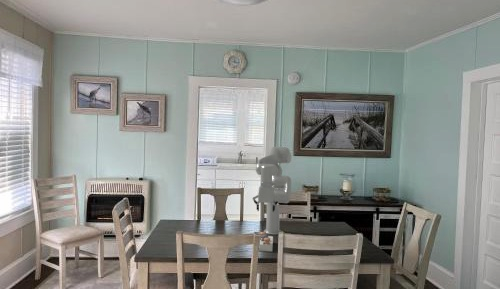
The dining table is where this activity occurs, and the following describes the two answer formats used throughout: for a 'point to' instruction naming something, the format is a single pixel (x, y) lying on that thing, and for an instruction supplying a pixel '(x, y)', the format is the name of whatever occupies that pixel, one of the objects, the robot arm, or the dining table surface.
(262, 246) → the panel
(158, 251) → the dining table surface
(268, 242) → the button
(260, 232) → the button
